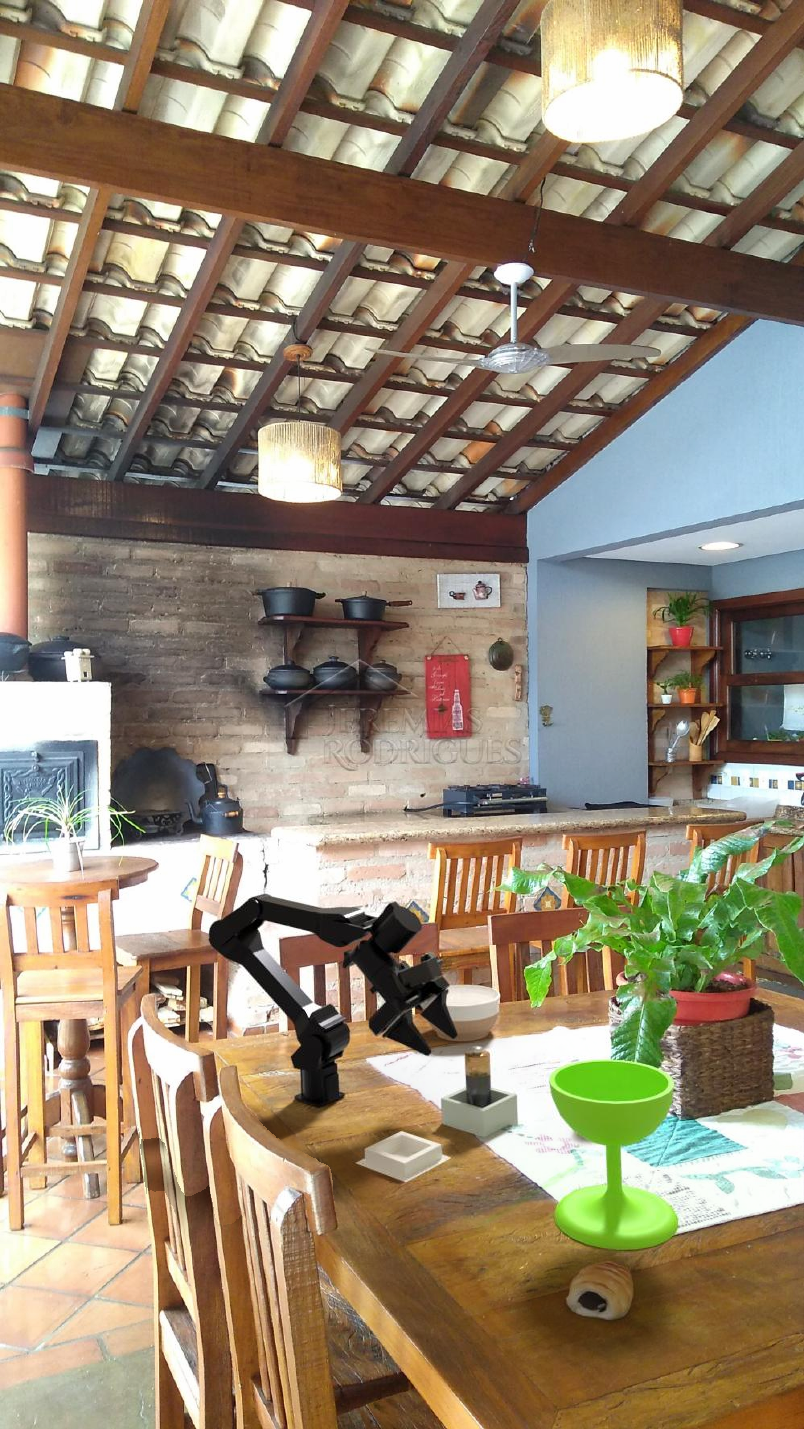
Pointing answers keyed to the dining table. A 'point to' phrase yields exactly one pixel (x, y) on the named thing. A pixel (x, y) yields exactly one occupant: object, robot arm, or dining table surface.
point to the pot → (479, 1112)
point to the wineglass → (614, 1150)
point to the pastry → (601, 1291)
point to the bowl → (471, 1011)
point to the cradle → (403, 1156)
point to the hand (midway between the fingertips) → (443, 1045)
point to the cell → (478, 1077)
